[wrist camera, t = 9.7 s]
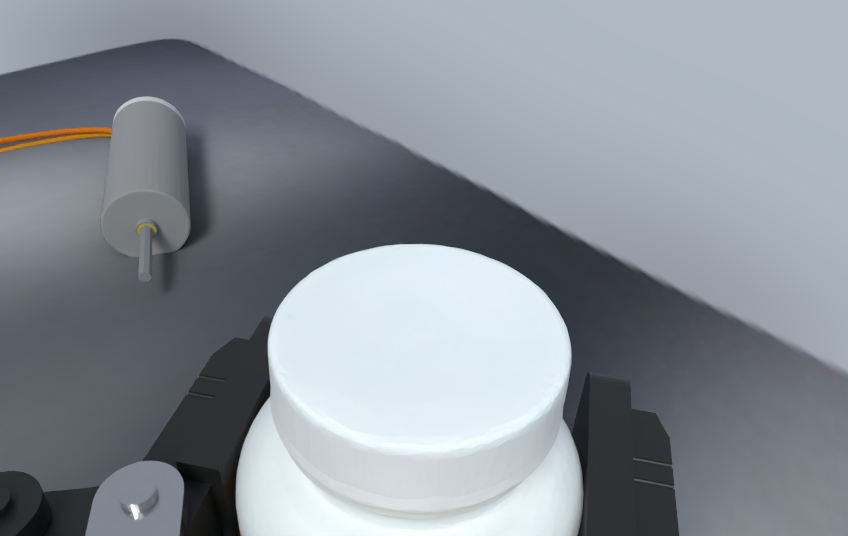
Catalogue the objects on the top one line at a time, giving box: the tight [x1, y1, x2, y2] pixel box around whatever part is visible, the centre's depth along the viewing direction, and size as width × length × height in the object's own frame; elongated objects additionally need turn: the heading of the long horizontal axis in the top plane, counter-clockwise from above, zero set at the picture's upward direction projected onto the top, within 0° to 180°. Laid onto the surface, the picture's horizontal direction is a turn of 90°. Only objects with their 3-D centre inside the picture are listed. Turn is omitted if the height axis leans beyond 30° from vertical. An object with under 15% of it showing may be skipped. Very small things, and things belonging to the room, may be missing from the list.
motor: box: [0, 97, 191, 282], centre depth 45 cm, size 23×22×5 cm
